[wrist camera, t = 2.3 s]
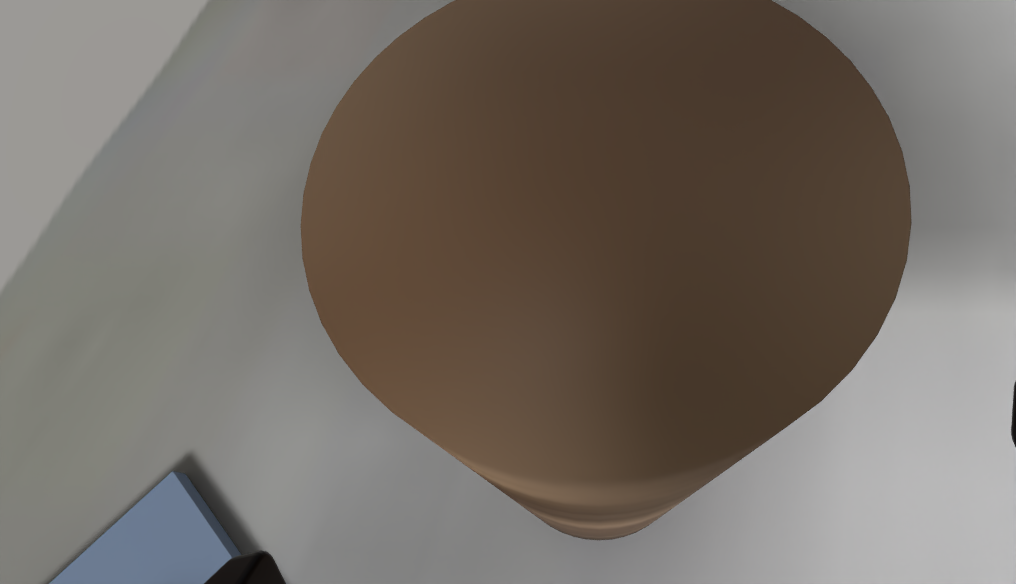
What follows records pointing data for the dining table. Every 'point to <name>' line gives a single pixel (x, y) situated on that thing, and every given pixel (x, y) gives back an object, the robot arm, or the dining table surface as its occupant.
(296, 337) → the dining table surface
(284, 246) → the dining table surface
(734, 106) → the walnut column
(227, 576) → the robot arm
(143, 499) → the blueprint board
